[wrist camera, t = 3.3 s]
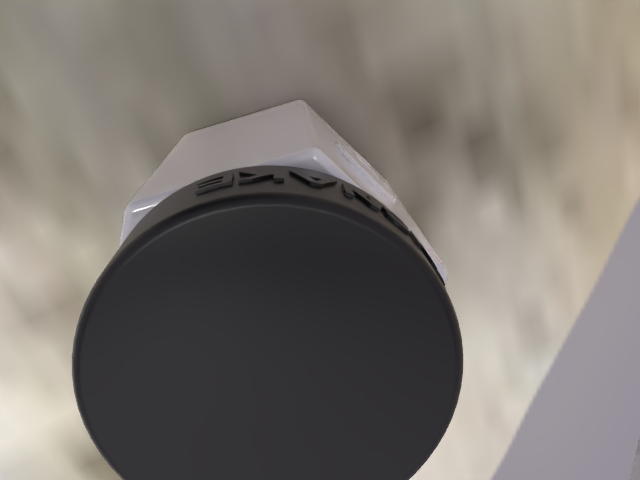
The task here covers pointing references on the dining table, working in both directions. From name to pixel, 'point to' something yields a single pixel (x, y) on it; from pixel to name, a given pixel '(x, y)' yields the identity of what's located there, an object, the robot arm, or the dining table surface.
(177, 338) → the jar
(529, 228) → the dining table surface
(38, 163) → the dining table surface
